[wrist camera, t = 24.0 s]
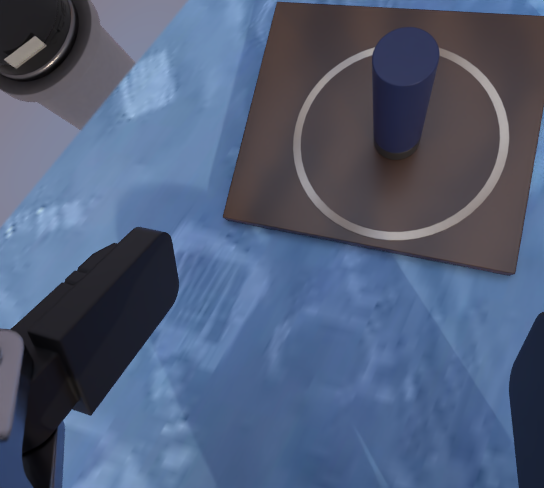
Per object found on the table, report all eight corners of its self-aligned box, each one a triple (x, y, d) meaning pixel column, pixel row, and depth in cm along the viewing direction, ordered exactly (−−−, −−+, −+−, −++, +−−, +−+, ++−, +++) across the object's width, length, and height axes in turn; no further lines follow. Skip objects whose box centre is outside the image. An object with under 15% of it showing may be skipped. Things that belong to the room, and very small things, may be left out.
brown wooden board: (227, 220, 31) (221, 216, 29) (280, 10, 32) (276, 0, 31) (510, 275, 26) (516, 273, 25) (553, 26, 28) (560, 15, 27)
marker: (369, 157, 28) (365, 82, 19) (378, 115, 28) (378, 24, 20) (415, 163, 27) (433, 89, 18) (424, 120, 27) (445, 28, 19)
